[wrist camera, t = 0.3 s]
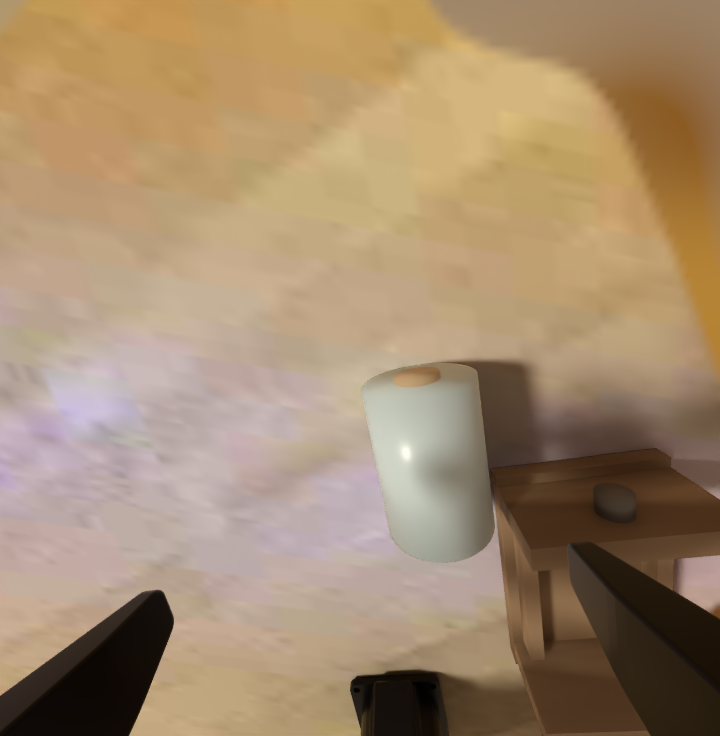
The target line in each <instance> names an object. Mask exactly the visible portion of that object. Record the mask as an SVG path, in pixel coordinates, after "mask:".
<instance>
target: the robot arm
mask: <svg viewBox="0 0 720 736" xmlns="http://www.w3.org/2000/svg"><path fill="white" fill-rule="evenodd" d="M567 554H568V566H569V576H570V581H571V584H572V587H573V589H574V592H575V594H576V596H577V598H578V600H579V602H580V604H581V606H582V608H583V610H584V612H585V614H586V616H587V618H588V620H589V622H590V624H591V626H592V628H593V630H594V632H595V634H596V637H597V639H598V641H599V643H600V645H601V647H602V649H603V651H604V653H605V655H606V657H607V659H608V661H609V663H610V665H611V667H612V669H613V671H614V673H615V675H616V677H617V679H618V681H619V683H620V685H621V686H622V688H623V690H624V692H625V694H626V695H627V697H628V699H629V701H630V702H631V704H632V706H633V707H634V709H635V711H636V712H637V714H638V716H639V717H640V719H641V721H642V722H643V724H644V726H645V727H646V729H647V731H648V733H649V734H650V736H720V619H719V618H718V617H716V616H714V615H713V614H711V613H709V612H708V611H706V610H704V609H703V608H701V607H699V606H698V605H696V604H694V603H693V602H691V601H689V600H688V599H686V598H684V597H683V596H681V595H679V594H678V593H676V592H674V591H673V590H671V589H670V588H668V587H666V586H665V585H663V584H661V583H660V582H658V581H656V580H655V579H653V578H651V577H650V576H648V575H646V574H645V573H643V572H641V571H640V570H638V569H636V568H635V567H633V566H631V565H630V564H628V563H626V562H625V561H623V560H621V559H620V558H618V557H616V556H615V555H613V554H611V553H610V552H608V551H606V550H605V549H603V548H601V547H600V546H598V545H596V544H595V543H593V542H590V541H580V542H571V543H569V544H568V546H567ZM173 625H174V617H173V614H172V611H171V609H170V606H169V604H168V601H167V599H166V596H165V594H164V592H162V591H161V590H152V591H145V592H142V593H140V594H139V595H138V596H136V597H135V598H133V599H132V600H131V601H129V602H128V603H127V604H125V605H124V606H123V607H121V608H120V609H118V610H117V611H116V612H114V613H113V614H112V615H110V616H109V617H107V618H106V619H105V620H103V621H102V622H101V623H99V624H98V625H97V626H95V627H94V628H92V629H91V630H90V631H88V632H87V633H86V634H84V635H83V636H81V637H80V638H79V639H77V640H76V641H75V642H73V643H72V644H71V645H69V646H68V647H66V648H65V649H64V650H62V651H61V652H60V653H58V654H57V655H55V656H54V657H53V658H51V659H50V660H49V661H47V662H46V663H45V664H43V665H42V666H40V667H39V668H38V669H36V670H35V671H34V672H32V673H31V674H29V675H28V676H27V677H25V678H24V679H23V680H21V681H20V682H19V683H17V684H16V685H14V686H13V687H12V688H10V689H9V690H8V691H6V692H5V693H3V694H2V695H1V696H0V736H129V735H130V732H131V730H132V728H133V726H134V724H135V722H136V719H137V717H138V715H139V713H140V710H141V708H142V705H143V703H144V701H145V698H146V695H147V693H148V690H149V688H150V685H151V683H152V680H153V678H154V675H155V673H156V670H157V668H158V665H159V663H160V660H161V658H162V655H163V652H164V650H165V647H166V645H167V642H168V640H169V637H170V635H171V632H172V629H173ZM350 691H351V695H352V699H353V702H354V706H355V710H356V713H357V717H358V721H359V725H360V728H361V736H449V731H448V726H447V720H446V715H445V709H444V704H443V698H442V693H441V687H440V682H439V678H438V677H437V676H436V675H415V676H397V677H379V678H361V679H353V680H352V681H351V686H350Z"/></svg>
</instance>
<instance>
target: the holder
mask: <svg viewBox="0 0 720 736" xmlns="http://www.w3.org/2000/svg"><path fill="white" fill-rule="evenodd" d="M670 465H671V457H669V456H668V455H666V454H665V453H663V452H661V451H660V450H658V449H657V448H654V449H646V450H638V451H630V452H622V453H614V454H606V455H598V456H590V457H582V458H574V459H566V460H558V461H550V462H542V463H534V464H526V465H519V466H511V467H503V468H495V469H491V472H492V481H493V490H494V499H495V509H496V518H497V527H498V536H499V545H500V554H501V563H502V572H503V581H504V590H505V599H506V608H507V617H508V626H509V635H510V645H511V650H512V653H513V656H514V659H515V662H516V664H518V666H519V669H520V671H521V674H522V677H523V680H524V683H525V686H526V689H527V692H528V695H529V698H530V700H531V703H532V706H533V709H534V712H535V715H536V718H537V721H538V724H539V727H540V730H541V732H542V735H543V736H650V734H649V733H648V731H647V729H646V727H645V726H644V724H643V722H642V721H641V719H640V717H639V716H638V714H637V712H636V711H635V709H634V707H633V706H632V704H631V702H630V701H629V699H628V697H627V695H626V694H625V692H624V690H623V688H622V686H621V685H620V683H619V681H618V679H617V677H616V675H615V673H614V671H613V669H612V667H611V665H610V663H609V661H608V659H607V657H606V655H605V653H604V651H603V649H602V647H601V645H600V643H599V641H598V639H597V637H596V634H595V632H594V630H593V628H592V626H591V624H590V622H589V620H588V618H587V616H586V614H585V612H584V610H583V608H582V606H581V604H580V602H579V600H578V598H577V596H576V594H575V592H574V589H573V587H572V584H571V581H570V576H569V566H568V554H567V546H568V544H569V543H571V542H580V541H590V542H593V543H595V544H596V545H598V546H600V547H601V548H603V549H605V550H606V551H608V552H610V553H611V554H613V555H615V556H616V557H618V558H620V559H621V560H623V561H625V562H626V563H628V564H630V565H631V566H633V567H635V568H636V569H638V570H640V571H641V572H643V573H645V574H646V575H648V576H650V577H651V578H653V579H655V580H656V581H658V582H660V583H661V584H663V585H665V586H666V587H668V588H670V589H671V590H673V574H674V559H681V558H692V557H703V556H714V555H720V500H719V499H718V498H716V497H715V496H713V495H712V494H710V493H709V492H707V491H706V490H704V489H703V488H701V487H700V486H698V485H697V484H695V483H694V482H692V481H691V480H689V479H687V478H686V477H684V476H683V475H681V474H680V473H678V472H677V471H675V470H674V469H672V468H671V467H670Z"/></svg>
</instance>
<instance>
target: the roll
mask: <svg viewBox="0 0 720 736" xmlns="http://www.w3.org/2000/svg"><path fill="white" fill-rule="evenodd" d="M361 393H362V398H363V403H364V408H365V413H366V418H367V422H368V427H369V432H370V437H371V442H372V447H373V452H374V457H375V462H376V467H377V472H378V477H379V482H380V487H381V492H382V497H383V502H384V507H385V512H386V517H387V522H388V527H389V531H390V535H391V537H392V539H393V541H394V542H395V544H396V545H397V546H398V547H399V548H400V549H401V550H402V551H404V552H405V553H407V554H408V555H410V556H412V557H415V558H417V559H420V560H423V561H428V562H436V563H448V562H456V561H460V560H464V559H466V558H469V557H471V556H473V555H475V554H477V553H478V552H480V551H481V550H482V549H484V548H485V547H486V546H487V544H488V543H489V542H490V540H491V538H492V536H493V533H494V528H495V524H494V515H493V506H492V497H491V488H490V479H489V470H488V461H487V453H486V444H485V435H484V426H483V417H482V408H481V399H480V390H479V381H478V373H477V371H476V370H475V369H474V368H472V367H470V366H467V365H462V364H455V363H429V364H421V365H415V366H409V367H403V368H398V369H395V370H391V371H388V372H385V373H382V374H380V375H377V376H375V377H373V378H371V379H370V380H368V381H367V382H366V383H364V385H363V386H362V388H361Z"/></svg>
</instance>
